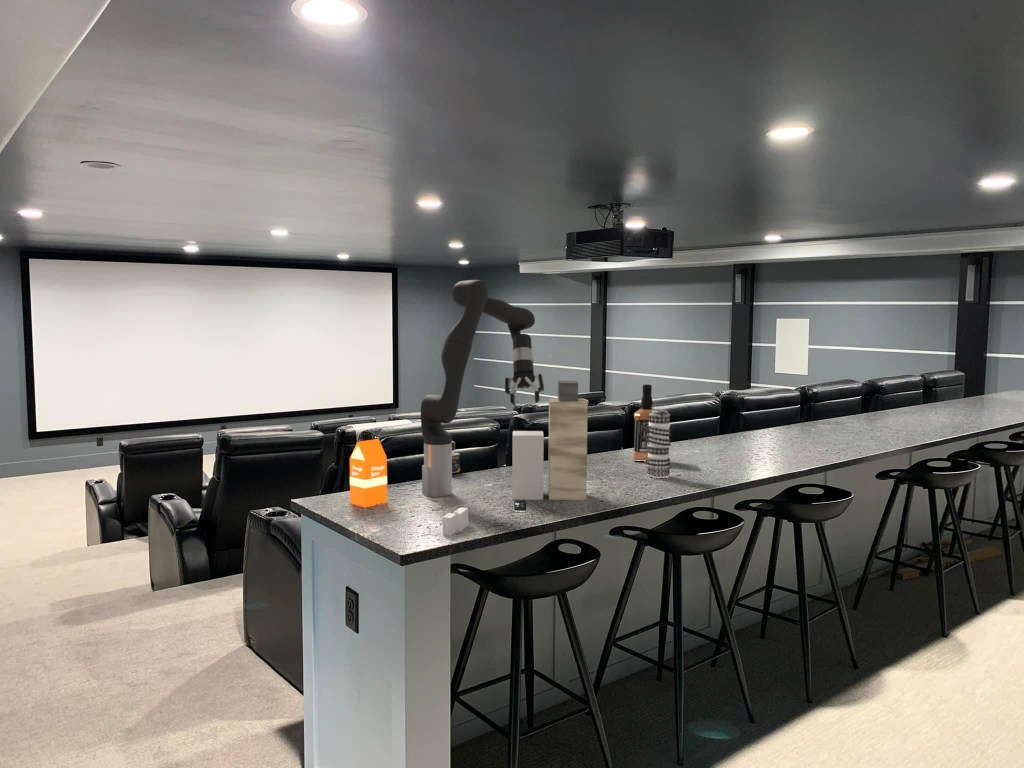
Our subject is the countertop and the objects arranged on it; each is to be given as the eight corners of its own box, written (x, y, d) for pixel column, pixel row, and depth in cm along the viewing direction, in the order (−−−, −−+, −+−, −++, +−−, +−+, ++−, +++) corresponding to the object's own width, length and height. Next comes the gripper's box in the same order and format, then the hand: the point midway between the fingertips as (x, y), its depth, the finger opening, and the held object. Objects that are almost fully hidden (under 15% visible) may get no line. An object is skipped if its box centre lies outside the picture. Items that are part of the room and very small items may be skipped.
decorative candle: (642, 474, 279) (643, 409, 277) (666, 473, 280) (667, 408, 278) (649, 479, 270) (650, 411, 268) (673, 478, 271) (675, 411, 269)
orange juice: (349, 503, 231) (349, 440, 230) (371, 498, 238) (371, 437, 236) (365, 507, 226) (364, 443, 224) (387, 502, 233) (387, 440, 231)
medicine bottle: (447, 474, 277) (447, 443, 276) (433, 472, 281) (433, 441, 280) (460, 471, 282) (460, 440, 281) (446, 469, 287) (446, 439, 286)
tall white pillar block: (512, 492, 247) (512, 430, 245) (542, 492, 247) (542, 431, 245) (512, 499, 237) (512, 435, 235) (543, 499, 237) (543, 435, 235)
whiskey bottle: (656, 458, 312) (658, 383, 310) (659, 462, 303) (660, 385, 300) (632, 457, 314) (633, 383, 311) (633, 462, 304) (635, 385, 301)
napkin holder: (464, 522, 211) (464, 503, 210) (487, 531, 202) (487, 511, 201) (419, 531, 202) (419, 511, 201) (441, 541, 193) (441, 519, 192)
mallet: (556, 395, 254) (556, 378, 254) (573, 395, 254) (574, 378, 254) (559, 401, 235) (559, 382, 235) (578, 401, 235) (578, 382, 235)
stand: (548, 492, 247) (548, 398, 244) (583, 493, 247) (584, 398, 244) (549, 499, 237) (550, 401, 234) (586, 500, 237) (587, 401, 234)
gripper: (502, 360, 271) (504, 402, 266) (540, 356, 268) (542, 398, 263) (506, 366, 278) (508, 408, 273) (543, 362, 275) (546, 404, 270)
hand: (525, 403), depth 268 cm, fingers open, 8 cm apart
